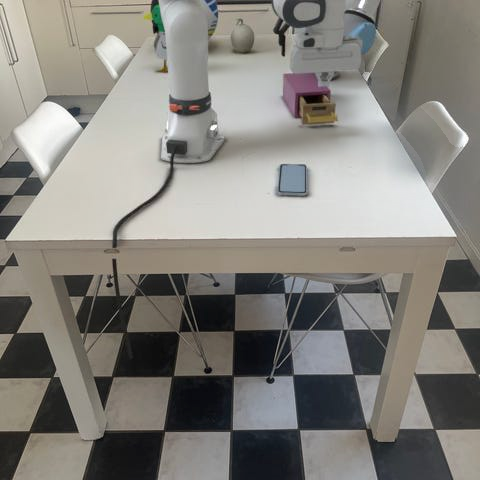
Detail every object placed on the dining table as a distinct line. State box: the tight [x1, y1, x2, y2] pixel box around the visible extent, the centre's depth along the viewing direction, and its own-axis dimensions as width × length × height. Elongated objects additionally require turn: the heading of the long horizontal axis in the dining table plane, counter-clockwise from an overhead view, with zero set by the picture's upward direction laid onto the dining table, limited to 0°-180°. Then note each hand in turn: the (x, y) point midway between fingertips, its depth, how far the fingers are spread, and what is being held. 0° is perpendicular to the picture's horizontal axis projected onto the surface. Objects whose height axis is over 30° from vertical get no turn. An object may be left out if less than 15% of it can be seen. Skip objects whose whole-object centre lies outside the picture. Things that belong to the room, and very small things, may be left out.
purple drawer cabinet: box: [282, 72, 331, 119], centre depth 174 cm, size 20×11×8 cm, turn 7°
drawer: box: [298, 94, 339, 126], centre depth 164 cm, size 24×10×6 cm, turn 7°
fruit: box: [230, 18, 255, 53], centre depth 228 cm, size 10×12×15 cm
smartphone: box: [277, 163, 308, 197], centre depth 132 cm, size 7×1×15 cm
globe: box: [149, 0, 219, 41], centre depth 229 cm, size 30×30×30 cm
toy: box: [141, 5, 168, 73], centre depth 204 cm, size 8×20×24 cm, turn 69°
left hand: (323, 86), depth 151 cm, fingers closed
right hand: (303, 54), depth 172 cm, fingers open, 13 cm apart
